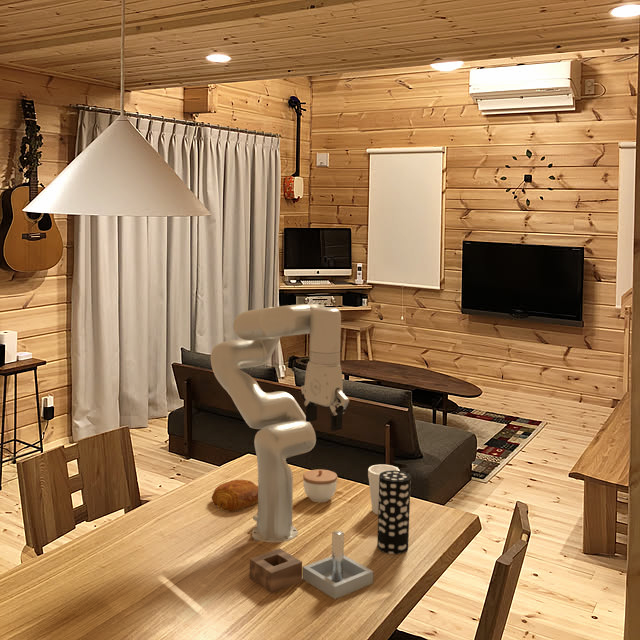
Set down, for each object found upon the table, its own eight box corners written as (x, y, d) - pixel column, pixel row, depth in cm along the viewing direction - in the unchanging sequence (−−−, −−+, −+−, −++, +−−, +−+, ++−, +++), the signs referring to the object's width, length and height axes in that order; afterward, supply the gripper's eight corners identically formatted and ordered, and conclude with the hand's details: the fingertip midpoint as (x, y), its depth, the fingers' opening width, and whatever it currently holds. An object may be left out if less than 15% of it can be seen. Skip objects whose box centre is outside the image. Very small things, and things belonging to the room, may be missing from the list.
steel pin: (328, 580, 172) (329, 532, 171) (337, 576, 174) (338, 529, 173) (336, 584, 170) (337, 536, 169) (345, 581, 172) (346, 533, 170)
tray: (302, 582, 173) (302, 566, 173) (339, 567, 181) (340, 552, 180) (334, 603, 164) (335, 586, 163) (372, 586, 172) (373, 571, 171)
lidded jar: (299, 493, 229) (300, 465, 228) (331, 491, 232) (332, 463, 231) (306, 506, 219) (307, 477, 218) (340, 503, 222) (341, 474, 220)
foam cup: (377, 519, 211) (378, 477, 209) (361, 508, 219) (362, 467, 217) (404, 513, 215) (405, 472, 213) (387, 502, 223) (388, 462, 221)
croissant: (269, 509, 222) (272, 484, 222) (231, 517, 211) (234, 490, 210) (238, 495, 232) (241, 471, 232) (200, 502, 220) (203, 476, 220)
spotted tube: (406, 555, 188) (409, 482, 185) (375, 552, 190) (377, 480, 187) (409, 542, 196) (411, 472, 193) (379, 538, 198) (381, 469, 195)
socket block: (249, 582, 173) (249, 558, 172) (279, 571, 179) (279, 548, 178) (271, 597, 166) (271, 573, 165) (301, 585, 172) (302, 561, 171)
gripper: (291, 354, 180) (290, 420, 182) (336, 365, 167) (334, 436, 169) (314, 351, 185) (313, 415, 187) (360, 361, 172) (358, 431, 174)
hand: (323, 425), depth 178 cm, fingers open, 9 cm apart
